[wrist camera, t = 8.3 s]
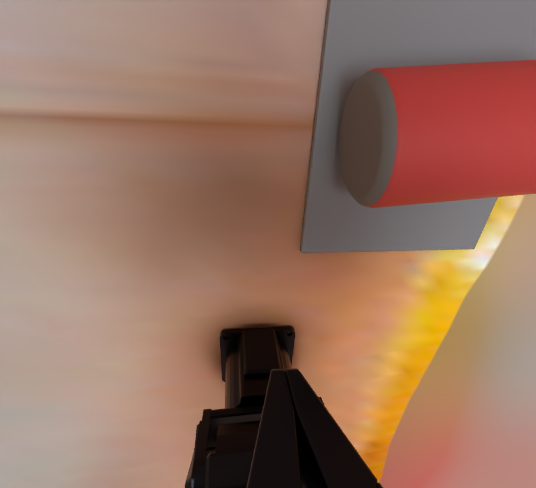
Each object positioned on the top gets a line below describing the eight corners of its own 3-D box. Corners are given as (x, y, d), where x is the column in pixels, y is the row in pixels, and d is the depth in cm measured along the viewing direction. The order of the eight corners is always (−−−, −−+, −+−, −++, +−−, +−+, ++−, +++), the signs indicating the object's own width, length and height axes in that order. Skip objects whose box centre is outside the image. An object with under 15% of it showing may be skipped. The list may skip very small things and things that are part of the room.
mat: (469, 245, 24) (474, 249, 23) (300, 249, 22) (301, 252, 22) (583, -12, 16) (593, -14, 15) (332, -36, 14) (335, -40, 14)
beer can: (395, 50, 11) (691, 36, 11) (336, 80, 17) (532, 69, 18) (381, 225, 13) (626, 202, 14) (334, 195, 19) (506, 180, 20)
